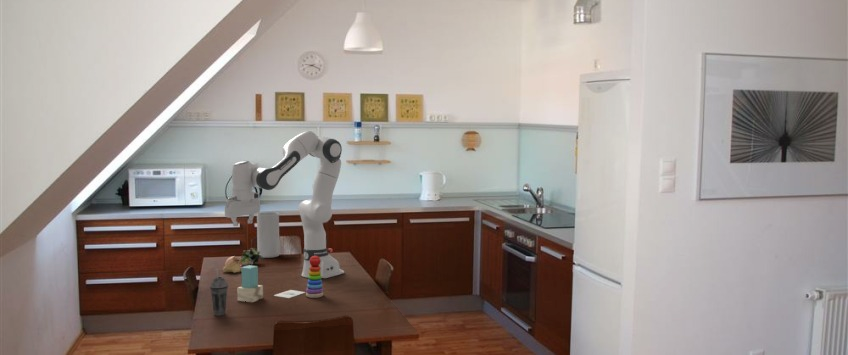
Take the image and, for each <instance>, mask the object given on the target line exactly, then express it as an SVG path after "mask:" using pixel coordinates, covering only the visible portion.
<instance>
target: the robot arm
mask: <svg viewBox="0 0 848 355" xmlns="http://www.w3.org/2000/svg"><path fill="white" fill-rule="evenodd" d="M342 152H343V149H342V145H341V143H340V142H339V141H338V140H336V139H335V138H330V137H325V136H317V134H316V133H315V132H313V131H312V130H306V131H304V132H300V133H299V134H297V135H296V136H294V137H293V138H291V139H290V140H288V142H286V143H285V144H284V146H283V148H282V154H283V158H282V159H281V160H280V161H279V162H277V163H276V164H275V165H273V166H272V167H267V168H266V167H260V166H257V165H255V164H253V163H251V162H250V161H249V160H242V161H238V162H235V163H234V164H233V165H232V173H231V176H232V177H231V179H232V180H231V181H232V196H231V197H228V198H227V199H226V200H225V207H224V216H225V218H230V219H231V221H232V223H233V224H232V226H233V227H238V226H239V222H238V221H237V218H238V217H242V216H248V219H247V225H250V224H253V220H254V217H255V214H258V213H260V211H261V200H260V193H258V192H255V191H253V188H258V189H263V190H266V191H270V190H273V189H276V187H277V186H278V185H279V183H280V181H281V180H282V178H284V176H285V175H287V174H288V173H289V172H290V171H291V170H293V169H294V167H295V166H297V165H298V164H299V162H300V161H302V160H304V159H305V158H306V157H307V156H311V157H315V158H318V159H319V160H320V165H319V166H318V169H317V172H316V174H315V178H314V180H313V183H312V196H311V197H312V198H309V199H304V200H302V201H301V202H300V203H299V204H298V208H297V209H298V213H299V216H300V220H301V225H302V229H303V235H304V236H303V237H304V238H303V239H304V240H303V241H304V242H303V244H304V248H303V265H302V266H303V267H302V271H301V276H302V277H303V278H306V279H309V278H308V276H309V271H310V269H309V268H310V266H311V264H310V262H309V261H310V258H311V257H312V256H318V257H319V258H320V260H321V262H320V264H319V266H320V268H321V269H320V270H319V271H320V272H321V274H320V275H321V279H327V278H332V277H335V276H339V275H342V274H345V271H344V270H343V269H341V267H340V263H339V261H338V260H337V259H336V258H334V257H333V256H332V255H330V253H333V248H331V247H330V248H327V237H326V236H327V233H326V230H325V228H324V224H325V223H327V222H329V221H330V220H331V219H332V216H333V209H332V202H333V201H332V200H333V195H334V191H335V188H336V184H337V182H338V178H339V176H340V172H341V169H342V168H341V167H342V161H341V157H342V156H341V155H342Z"/></svg>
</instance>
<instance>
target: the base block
mask: <svg viewBox="0 0 848 355" xmlns="http://www.w3.org/2000/svg"><path fill="white" fill-rule="evenodd" d="M263 286H264V285H262V284H258V286H257V287H253V288H245V287H242V285H241V286H238V287H237V288H236V291H237V292H236V293H237V295H236V296H237V298H236V299H237V301H239V302H245V301H246V302H247V303H254V302H257V301H259V299H260V300H262V299H264V287H263Z"/></svg>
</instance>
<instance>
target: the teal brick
mask: <svg viewBox="0 0 848 355" xmlns="http://www.w3.org/2000/svg"><path fill="white" fill-rule="evenodd" d="M240 268H241V269H242V270H241V286H242V287H245V288H253V287H257V286H258V285H259V277H258V276H259V272H258V270H259V269H258V268H259V266H258V265H251V264H248V265H244V266H241V267H240Z"/></svg>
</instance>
